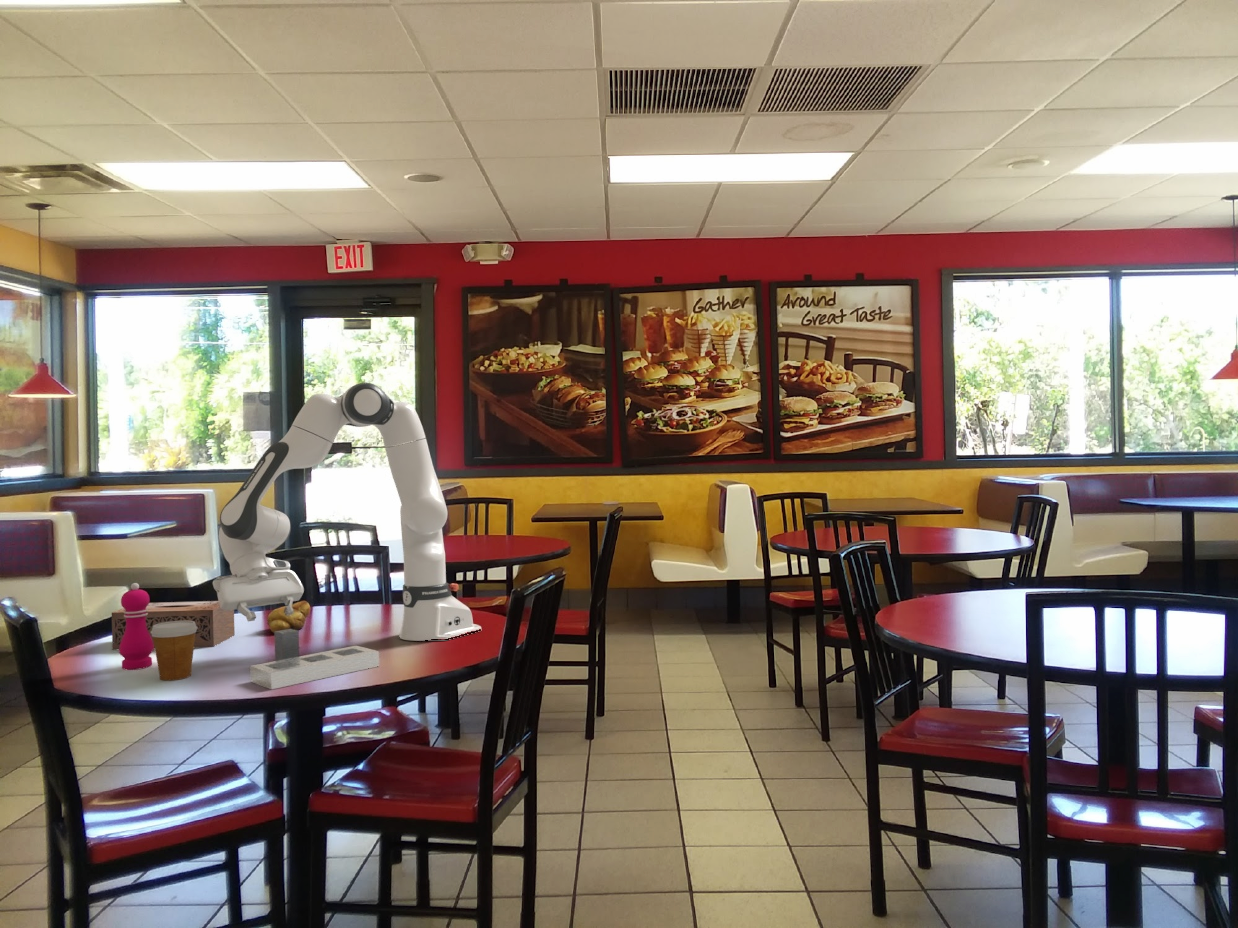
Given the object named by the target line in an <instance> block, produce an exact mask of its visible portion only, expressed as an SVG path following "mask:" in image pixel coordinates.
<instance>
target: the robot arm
mask: <svg viewBox="0 0 1238 928" xmlns="http://www.w3.org/2000/svg"><path fill="white" fill-rule="evenodd" d="M344 426H351V427H357V428H361V427H362V428H363V427H369V426H374V427H376V429H378V431H379V432H380V435H381V438H382V440H383V445H384V449H385V453H386V456H387V457H386V458H387V462H388V465H389V468H390V473H391V475H392V479H393V482H394V484H395V485H394V486H395V487H396V490H397V495H398V498H399V500H400V503H401V506H400V528H401V529H400V531H401V542H402V551H403V552H402V554H403V580H404V581H403V582H404V583H403V585H402V601H403V615H402V623H401V629H400V633H399V636H398V638H399V637H400V638H399V639H401V640H404V641H414V642H415V641H416V642H417V641H419V642H421V641H422V642H426V641H425V640H428V641H432V640H431V639H448V638H451V637H455V636H459V635H461V634H465V633H467V632H471V631H476V630H479V629H481V630H482V626H481V625H479V624H475V623H474V621H473V614H472V611H471V609H470V607H468V606H467V605H466V604H464V603H463V602H461V601H460V600H459V599H457V598H456V597H454V596H453V595H452V594H453V592H457V591H458V590H459V589H460V587H459V584H458V583H448V582H447V574H446V573H447V571H446V552H445V544H444V536H443V527H444V526H445V525H446V522H447V519H448V513H449V512H448V508H447V505H446V504H447V503H446V501H445V497H444V495H443V491H442V489H441V485H440V482H439V480H438V479H439V478H438V476H437V474H436V471H435V468H434V464H433V460H432V457H431V454H430V448H429V445H428V440H427V437H426V433H425V431H424V427H423V425H422V422H421V420H420V416H419V414H418V413H417V411H416V409H415V407H414V406H413V405H412V404H410V403H408V402H406V401H405V402H404V401H395V402H394V401H393V400H392V399H391V398H390V397H389V395H387V394H386V392H384V390H383V389H382V388H381V387H380V386H378V385H376V384H374V383H371V382H360V383H356V384H355V385H353V386H350V387H349V388H348V389H347V390H346V391H345V392H344V393H343V394H341V395H339V396H338V397H335V396H332V395H330V394H328V393H327V394H326V393H314V394H313V395H311V396H310V397H309V398H308V399H307V401H306V402H305V403H304V404H303V406H302V407H301V409H300V410H299V412H298V413H297V415H296V417H295V418H294V421H293V422H292V424H291V427H289V430H288V431H287V433H286V434H285V435H284V437H282V438H281V440H279V441H278V442H274V443H273V444H271V445H270V446H269V447H268V448H267V449H266V450H265V451H264V453H263V454H262V455H261V457H260V458H259V460H258V461H257V462H256V464H255V465H254V467H253V468H252V470H251V472H250V473H249V475H248V476H247V477H246V479H245V480H244V482H243V483H242V485H241V486H240V488H239V489H238V491H237V492H236V493H235V494H234V496H232V497H231V499H230V500H229V501H228V502H227V503H226V504H225V505H224V507H223V508H222V510H221V511H220V515H219V522H220V523H219V524H220V527H219V529H218V530H219V531H218V540H219V541H218V542H219V544H220V545H219V546H220V548H221V551H222V553H223V556H224V559H225V560H226V561H227V562H228V564H229V570H230V572H231V574H230V575H225V576H223V575H222V576H221V575H220V576H216V578H215V579H213V581H212V586H213V589H214V590H215V591H216V595H217V601H219V605H220V607H221V608H222V609H223V610H225V611H228V610H234V611H235V610H237V611H238V613H240V614H241V615H243V616H244V617H245V618H246V620H247V622H254V621H255V620H256V619H257V615H256V612H255V611H254V610H250V608H255V607H263V606H269V605H277V604H278V605H279V604H284V605H285V606H286V607H285V609H284V613H285V615H286V616H288V615H292V614H293V612H294V611H293V608H292V605H293V604H294V603H293V602H296V601H297V602H299V601H300V600H301V598H302V596H303V594H304V591H305V588H304V585H303V583H302V582H301V579H300V578H299V576H298V575H297V574H296V572H295V571H294V570H291V564H290V562H289V561H288V560H281V559H275V558H271V557H268V556H266V554H269V553H271V552H273V551H275V550H276V549H278V548H279V547H280V546H282V545H283V544H284V543H285V542H286V541H287V540H288V539H289V537H290V534H291V529H292V525H291V520H290V518H289V515H287V514H286V513H285V512H282V511H279V510H277V509H274V508H272V507H268V506H264V505H262V504H261V503H262V501H263V499H264V497H265V496H266V494H267V493H268V491H269V490H270V489H271V486H272V485H273V483H274V482H275V481H276V479H277V478H278V477H279V476H280V475H281V474H282V473H284V472H286V471H290V470H294V469H295V470H296V469H308V468H312V467H315V466H318V465H320V464H321V463H322V462H323V461H324V460H325V458H326V457H327V456H328V455H329V452H330V451H331V449H332V446H333V444H334V441H335V439H336V437H337V436H338V433H339V432H340V430H341V429H342V428H343V427H344ZM452 591H453V592H452Z"/></svg>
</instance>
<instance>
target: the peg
mask: <svg viewBox="0 0 1238 928" xmlns="http://www.w3.org/2000/svg"><path fill="white" fill-rule="evenodd" d="M299 633H300V632H299V630H293V629H286V630H280V631H274V633H273V634H274V661H279V660H284V659H289V658H294V657H299V656H300V641H299V640H300V637H299Z"/></svg>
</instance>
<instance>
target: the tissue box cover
mask: <svg viewBox="0 0 1238 928" xmlns="http://www.w3.org/2000/svg"><path fill="white" fill-rule="evenodd" d="M146 609H147V610H148V611H147V613H148V614H147V615H146V627H147V630H148V632H149V634H150V636H151V638H152V641H153V644H154V639H153V636H152V634H151V631H152V628H153V625H156V624H159V623H164V622H171V621H194V622H195V624H196V627H198V628H197V630H196V632H195V641H194V648H215V647H216V646H218V645H220V644H222V643H223V641H224V642H225V641H227V640H229V639H231V638H233V637H234V635H235V610H228V611H225V610H223V609H222V608H221V607H220V605H219V601H218V600H211V601H210V600H207V601H206V600H203V601H174V602H173V601H171V602H167V601H166V602H149V604H148V605H147V607H146ZM124 611H126V610H125V609H124V608H123V607H122V608H121V609H117V610H116V611H112V612H111V639H112V643H111V644H112V646H111V647H112V650H113V649H119V648H120V643H121V640H122V638H123V636H124V633H125V629H126V617H124ZM232 636H233V637H232ZM235 636H236V635H235ZM230 637H231V638H230ZM221 642H222V643H221ZM217 644H218V645H217ZM215 645H216V646H215ZM154 648H155V646H154Z"/></svg>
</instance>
